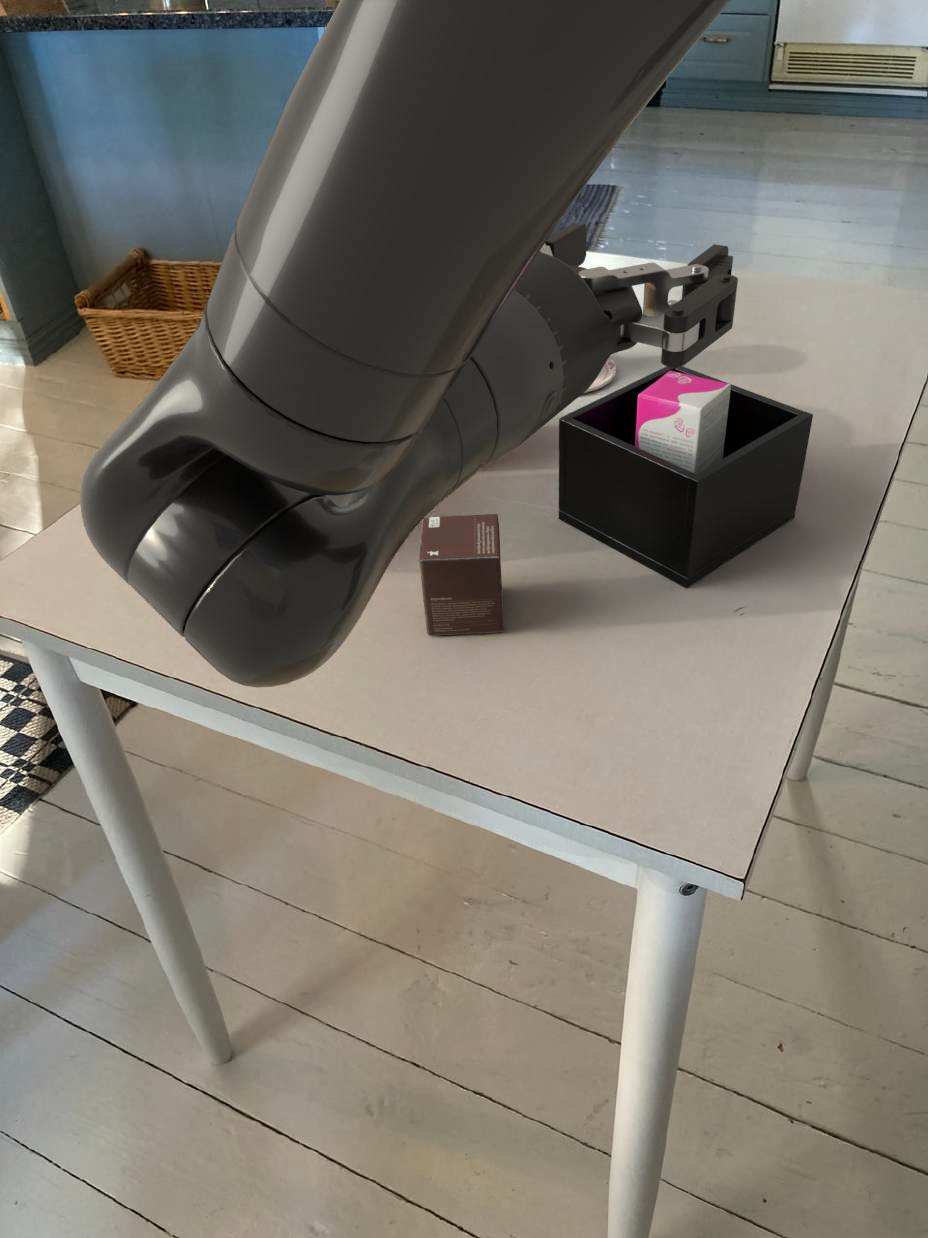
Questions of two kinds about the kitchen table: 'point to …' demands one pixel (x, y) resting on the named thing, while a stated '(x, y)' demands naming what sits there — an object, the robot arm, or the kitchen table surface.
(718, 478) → the black storage bin
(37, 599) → the kitchen table surface
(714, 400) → the supplement box
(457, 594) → the box
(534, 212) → the robot arm
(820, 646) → the kitchen table surface
